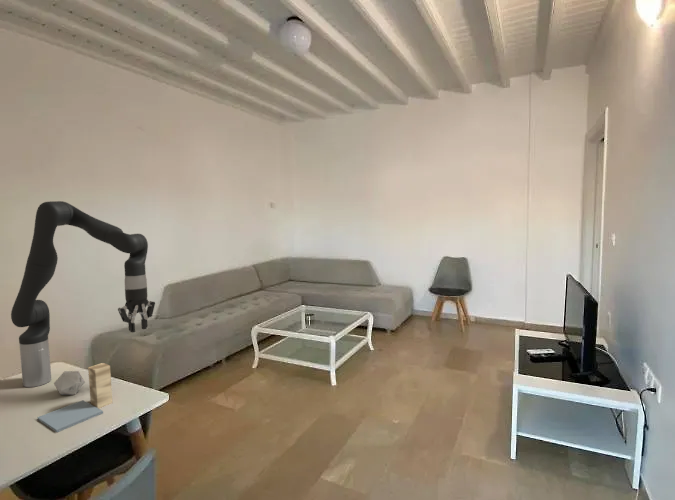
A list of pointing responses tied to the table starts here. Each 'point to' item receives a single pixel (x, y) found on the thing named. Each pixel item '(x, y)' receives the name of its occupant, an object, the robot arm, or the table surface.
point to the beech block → (100, 385)
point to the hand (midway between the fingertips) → (138, 330)
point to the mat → (69, 415)
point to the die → (69, 382)
